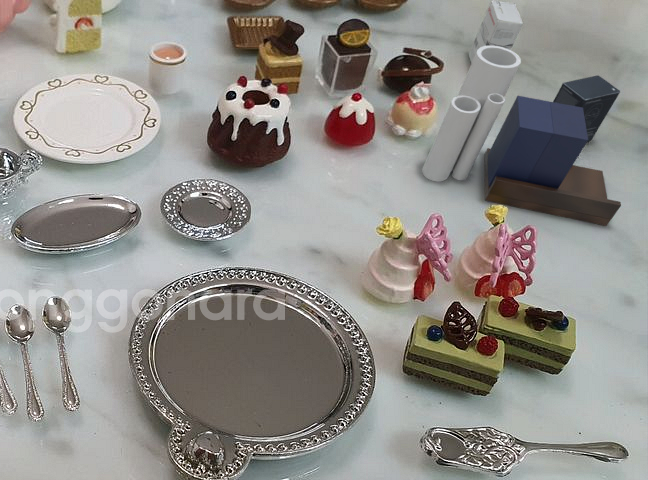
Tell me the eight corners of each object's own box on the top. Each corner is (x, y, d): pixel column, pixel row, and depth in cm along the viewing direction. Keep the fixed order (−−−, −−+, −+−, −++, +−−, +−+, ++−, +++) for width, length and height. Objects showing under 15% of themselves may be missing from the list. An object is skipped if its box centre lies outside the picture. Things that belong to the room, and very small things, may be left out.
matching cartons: (548, 166, 130) (583, 107, 121) (551, 199, 124) (588, 140, 115) (487, 154, 132) (517, 95, 123) (488, 186, 126) (519, 126, 117)
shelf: (598, 177, 131) (612, 156, 127) (606, 226, 122) (621, 205, 119) (484, 154, 134) (494, 133, 131) (484, 200, 126) (495, 179, 122)
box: (569, 124, 141) (598, 74, 133) (591, 141, 137) (622, 91, 129) (535, 131, 139) (562, 81, 131) (556, 149, 135) (585, 99, 127)
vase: (438, 142, 136) (482, 40, 121) (478, 156, 134) (528, 55, 118) (418, 175, 130) (462, 72, 115) (459, 191, 127) (510, 88, 112)
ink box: (498, 79, 150) (524, 23, 141) (473, 76, 151) (497, 20, 142) (491, 56, 156) (516, 1, 147) (467, 53, 156) (490, -2, 147)
